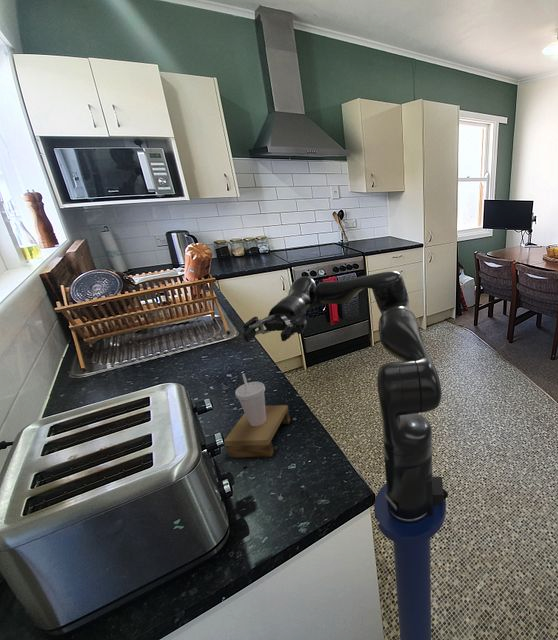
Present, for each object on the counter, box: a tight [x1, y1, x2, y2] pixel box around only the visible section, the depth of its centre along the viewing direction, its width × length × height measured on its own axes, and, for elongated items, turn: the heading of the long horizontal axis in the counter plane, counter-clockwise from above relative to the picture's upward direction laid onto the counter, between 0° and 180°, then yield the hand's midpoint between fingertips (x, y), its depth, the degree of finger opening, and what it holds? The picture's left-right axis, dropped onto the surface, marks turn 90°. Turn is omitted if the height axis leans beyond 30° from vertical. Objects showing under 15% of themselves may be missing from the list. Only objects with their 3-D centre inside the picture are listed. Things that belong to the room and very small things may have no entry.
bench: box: [223, 404, 291, 458], centre depth 86 cm, size 10×13×5 cm
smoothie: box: [234, 373, 266, 427], centre depth 83 cm, size 6×6×14 cm
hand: (264, 338), depth 81 cm, fingers open, 8 cm apart
